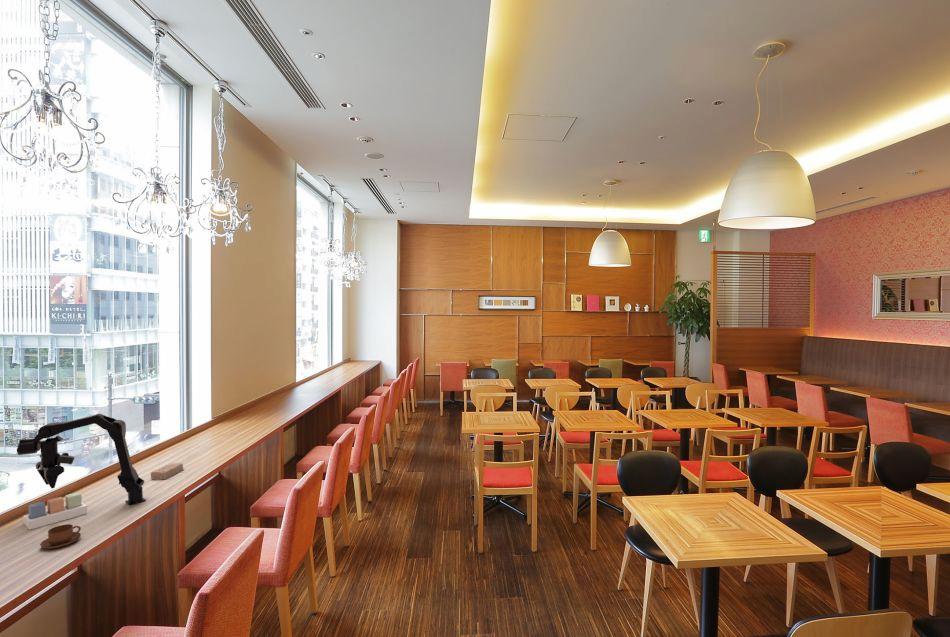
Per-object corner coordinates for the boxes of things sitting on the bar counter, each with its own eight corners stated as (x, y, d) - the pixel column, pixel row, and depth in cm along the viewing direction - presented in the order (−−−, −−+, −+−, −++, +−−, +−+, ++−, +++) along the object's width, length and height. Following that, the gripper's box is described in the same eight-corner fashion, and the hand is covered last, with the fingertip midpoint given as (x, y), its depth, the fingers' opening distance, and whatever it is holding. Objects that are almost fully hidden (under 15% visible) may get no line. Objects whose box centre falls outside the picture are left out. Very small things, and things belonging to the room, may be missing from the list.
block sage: (81, 507, 216) (81, 494, 216) (68, 511, 213) (68, 497, 212) (78, 505, 219) (78, 492, 219) (65, 508, 215) (65, 495, 215)
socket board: (87, 513, 216) (86, 505, 216) (29, 529, 200) (29, 521, 200) (80, 508, 222) (80, 500, 222) (23, 523, 206) (23, 515, 206)
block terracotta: (64, 512, 211) (63, 498, 211) (50, 516, 208) (50, 502, 207) (61, 509, 214) (60, 496, 214) (47, 513, 210) (47, 500, 210)
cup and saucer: (67, 535, 195) (66, 520, 195) (88, 538, 191) (87, 523, 191) (32, 549, 183) (31, 533, 183) (54, 553, 180) (53, 537, 180)
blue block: (45, 517, 206) (45, 503, 206) (31, 521, 203) (30, 507, 203) (42, 514, 209) (42, 501, 209) (28, 518, 205) (28, 504, 205)
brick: (169, 470, 274) (169, 462, 274) (184, 469, 274) (183, 461, 274) (150, 480, 258) (149, 472, 258) (165, 480, 258) (165, 471, 258)
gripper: (78, 450, 216) (79, 485, 216) (66, 444, 227) (67, 477, 228) (45, 457, 207) (46, 492, 208) (34, 450, 218) (36, 484, 219)
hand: (50, 486), depth 216 cm, fingers open, 8 cm apart
